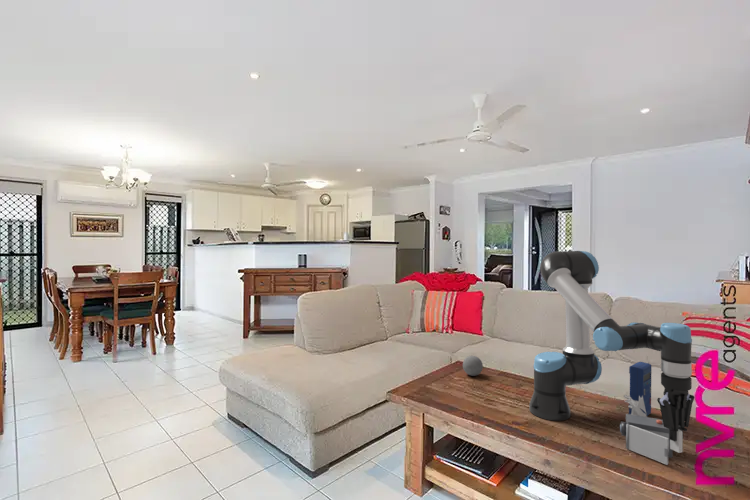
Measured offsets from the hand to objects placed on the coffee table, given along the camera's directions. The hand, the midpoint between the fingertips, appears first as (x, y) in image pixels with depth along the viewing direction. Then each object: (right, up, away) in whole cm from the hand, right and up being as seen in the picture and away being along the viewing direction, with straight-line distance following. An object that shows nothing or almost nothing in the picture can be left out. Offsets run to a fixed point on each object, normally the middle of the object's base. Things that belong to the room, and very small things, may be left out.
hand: (676, 450), depth 122 cm
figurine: (+4, -4, +26) cm, 26 cm away
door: (-7, -4, +4) cm, 9 cm away
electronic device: (+12, -4, +34) cm, 36 cm away
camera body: (-2, -4, +9) cm, 10 cm away
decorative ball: (-43, -3, +81) cm, 92 cm away
